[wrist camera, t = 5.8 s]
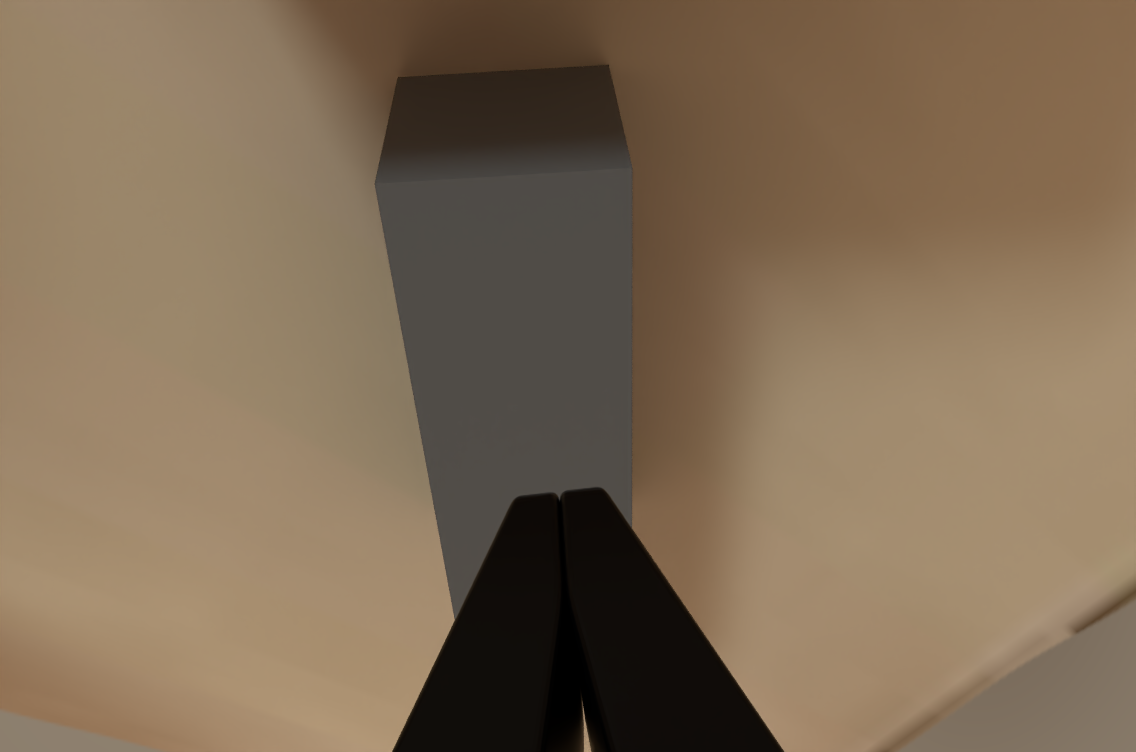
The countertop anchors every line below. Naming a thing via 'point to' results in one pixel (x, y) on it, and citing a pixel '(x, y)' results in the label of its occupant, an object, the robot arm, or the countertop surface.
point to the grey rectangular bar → (512, 290)
